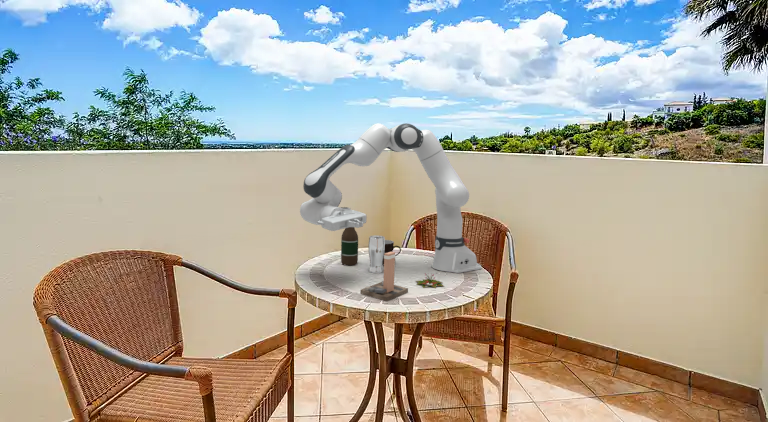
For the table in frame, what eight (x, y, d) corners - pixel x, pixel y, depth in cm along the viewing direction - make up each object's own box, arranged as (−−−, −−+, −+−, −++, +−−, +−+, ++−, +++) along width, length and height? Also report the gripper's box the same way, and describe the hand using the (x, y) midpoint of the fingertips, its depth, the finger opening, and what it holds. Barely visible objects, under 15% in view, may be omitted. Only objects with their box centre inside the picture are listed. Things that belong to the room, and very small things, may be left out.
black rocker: (374, 292, 161) (374, 290, 161) (378, 290, 162) (378, 288, 162) (382, 293, 158) (382, 290, 158) (386, 291, 160) (386, 288, 160)
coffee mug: (370, 262, 208) (371, 241, 206) (383, 259, 214) (384, 238, 212) (388, 268, 200) (389, 245, 198) (401, 264, 206) (402, 243, 204)
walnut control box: (360, 293, 164) (360, 286, 164) (382, 285, 175) (382, 278, 174) (387, 301, 157) (387, 294, 157) (408, 292, 167) (408, 285, 167)
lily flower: (449, 289, 174) (450, 277, 174) (420, 291, 171) (421, 279, 170) (437, 279, 186) (438, 269, 185) (410, 281, 182) (410, 270, 182)
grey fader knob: (381, 284, 170) (381, 280, 169) (384, 283, 171) (384, 279, 171) (387, 286, 168) (387, 282, 168) (389, 285, 170) (390, 280, 169)
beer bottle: (355, 266, 201) (357, 212, 197) (338, 265, 202) (339, 212, 198) (359, 262, 208) (360, 210, 205) (343, 260, 209) (343, 209, 206)
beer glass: (382, 274, 190) (383, 239, 188) (366, 272, 191) (367, 237, 189) (385, 269, 197) (386, 235, 195) (369, 268, 198) (370, 234, 196)
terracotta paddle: (382, 291, 162) (384, 253, 160) (389, 289, 165) (391, 251, 163) (387, 292, 161) (388, 254, 159) (394, 290, 164) (395, 252, 162)
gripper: (314, 213, 168) (342, 221, 160) (350, 206, 184) (377, 213, 176) (314, 230, 169) (341, 238, 161) (349, 221, 186) (376, 228, 178)
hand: (360, 225), depth 169 cm, fingers closed
